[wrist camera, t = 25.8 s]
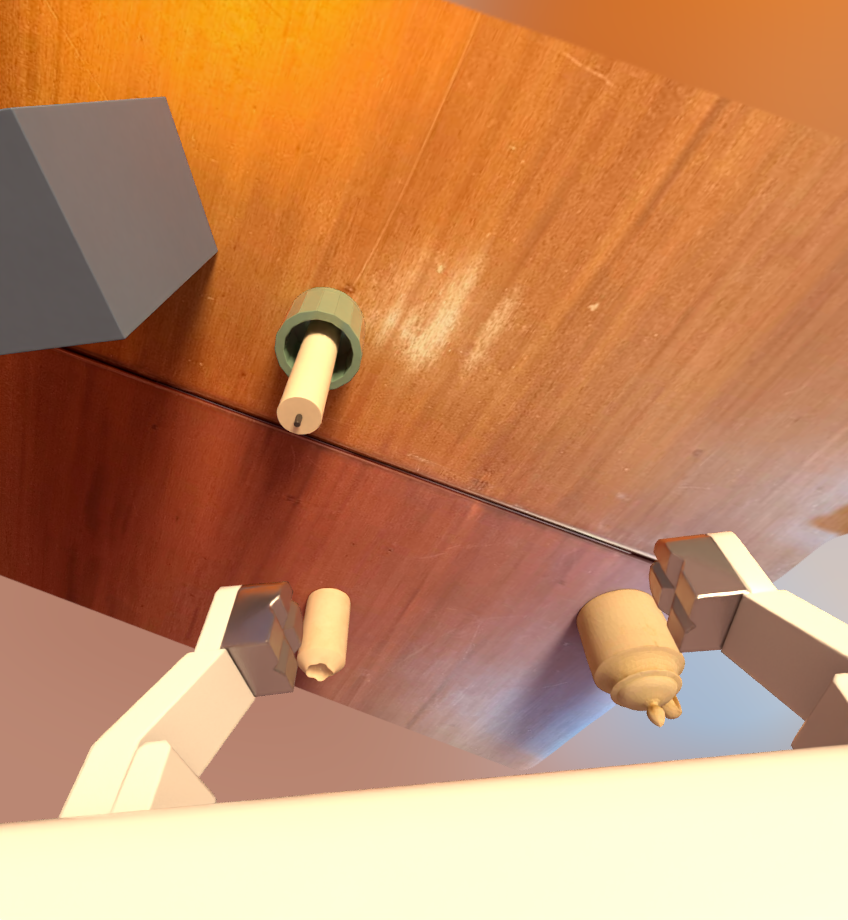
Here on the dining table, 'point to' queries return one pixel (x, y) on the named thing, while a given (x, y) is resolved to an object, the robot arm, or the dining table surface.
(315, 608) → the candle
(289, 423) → the taper
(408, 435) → the dining table surface
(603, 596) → the sugar bowl
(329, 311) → the holder
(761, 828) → the robot arm
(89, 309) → the riser
